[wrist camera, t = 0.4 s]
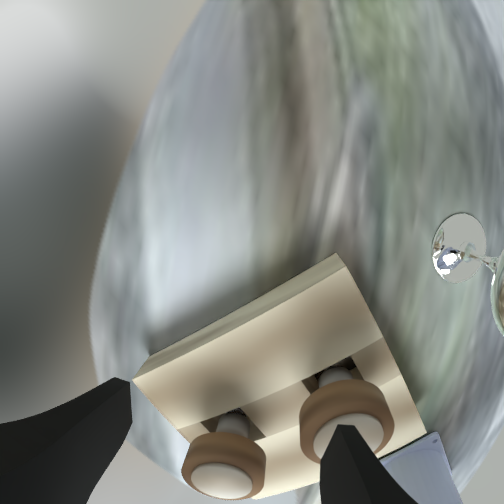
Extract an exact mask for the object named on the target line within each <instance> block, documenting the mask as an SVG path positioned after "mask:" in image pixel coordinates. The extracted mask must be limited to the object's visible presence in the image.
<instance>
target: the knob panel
mask: <svg viewBox="0 0 504 504" xmlns="http://www.w3.org/2000/svg"><path fill="white" fill-rule="evenodd" d="M348 356H351V358H352V359H353V361H354V363H355V365H356V366H357V367H355V368H353V369H351V370H350V372H351V373H352V376H353V379H358V380H364V381H367V382H370V383H372V384H374V385H376V386H377V387H378V388H379V389H380V390H381V391H382V393H383V395H384V397H385V399H386V402H387V404H388V407H389V409H390V412H391V414H392V417H393V419H394V424H395V428H394V433H393V435H392V437H391V439H390V441H389V442H388V443H387V445H386V446H385V447H384V448H383V449H382V450H381V451H379V452H378V453H377V454H375V455H376V457H377V458H379V457H381V456H383V455H386V454H388V453H390V452H392V451H394V450H396V449H398V448H400V447H402V446H404V445H406V444H408V443H409V442H411V441H413V440H415V439H417V438H419V437H421V436H422V435H424V434H426V433H427V432H426V430H425V427H424V425H423V422H422V420H421V418H420V415H419V413H418V411H417V408H416V406H415V404H414V401H413V399H412V397H411V395H410V392H409V390H408V388H407V386H406V383H405V381H404V379H403V377H402V375H401V373H400V370H399V368H398V366H397V364H396V362H395V360H394V358H393V356H392V354H391V352H390V349H389V347H388V345H387V343H386V341H385V339H384V337H383V335H382V333H381V331H380V329H379V327H378V325H377V323H376V321H375V319H374V317H373V315H372V313H371V312H370V310H369V308H368V306H367V304H366V302H365V300H364V298H363V296H362V294H361V292H360V291H359V289H358V287H357V285H356V283H355V281H354V279H353V278H352V276H351V274H350V272H349V270H348V269H347V267H346V265H345V264H344V263H343V261H342V260H341V258H340V257H339V256H338V254H337V253H334V254H333V255H331V256H329V257H328V258H326V259H324V260H323V261H321V262H319V263H318V264H316V265H314V266H312V267H311V268H309V269H307V270H306V271H304V272H302V273H301V274H299V275H297V276H295V277H294V278H292V279H290V280H289V281H287V282H285V283H283V284H282V285H280V286H278V287H276V288H275V289H273V290H271V291H269V292H268V293H266V294H264V295H262V296H261V297H259V298H257V299H255V300H253V301H252V302H250V303H248V304H246V305H244V306H243V307H241V308H239V309H237V310H235V311H234V312H232V313H230V314H228V315H226V316H225V317H223V318H221V319H219V320H217V321H215V322H214V323H212V324H210V325H208V326H206V327H204V328H202V329H201V330H199V331H197V332H195V333H193V334H191V335H189V336H187V337H186V338H184V339H182V340H180V341H178V342H176V343H174V344H172V345H170V346H168V347H166V348H165V349H163V350H161V351H159V352H157V353H155V354H153V355H151V356H149V357H148V359H147V360H146V361H145V363H144V364H143V365H142V367H141V368H140V370H139V371H138V372H137V374H136V375H135V376H134V378H133V379H132V380H133V382H134V383H135V384H136V385H137V386H138V388H139V389H140V390H141V391H142V392H143V394H144V395H145V396H146V397H147V398H148V399H149V400H150V402H151V403H152V404H153V405H154V406H155V407H156V408H157V409H158V411H159V412H160V413H161V414H162V415H163V416H164V417H165V418H166V419H167V420H168V421H169V422H170V423H171V425H172V426H173V427H174V428H175V429H176V430H177V431H178V432H179V433H180V434H181V435H182V436H183V437H184V438H185V439H186V440H187V441H188V442H189V443H190V444H191V442H192V441H193V440H194V439H195V438H196V437H198V436H200V435H203V434H206V433H211V432H216V430H217V426H218V422H219V419H220V418H221V417H222V416H223V415H225V414H226V412H229V411H231V410H234V409H236V408H239V407H240V408H241V409H242V410H243V412H244V413H245V414H246V415H247V416H248V417H246V418H247V419H248V420H249V422H250V430H249V437H248V439H250V440H252V441H254V442H255V443H257V444H258V445H259V446H260V447H261V448H262V449H263V451H264V452H265V455H266V469H265V480H264V487H263V489H262V490H261V491H260V492H259V493H258V494H257V495H255V496H253V497H251V498H253V499H254V500H256V499H260V498H264V497H268V496H272V495H276V494H280V493H283V492H287V491H290V490H294V489H297V488H301V487H304V486H307V485H310V484H313V483H316V482H319V481H320V464H318V463H315V462H313V461H311V460H310V459H308V458H307V457H306V456H305V455H304V453H303V452H302V450H301V447H300V428H299V413H300V409H301V407H302V405H303V403H304V402H305V400H306V399H307V398H308V397H309V396H310V395H311V394H312V393H313V392H315V391H316V390H318V389H319V383H318V381H317V379H316V378H315V377H314V375H313V374H316V373H318V372H320V371H322V370H324V369H326V368H327V367H329V366H331V365H333V364H335V363H337V362H339V361H341V360H343V359H345V358H347V357H348Z"/></svg>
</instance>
